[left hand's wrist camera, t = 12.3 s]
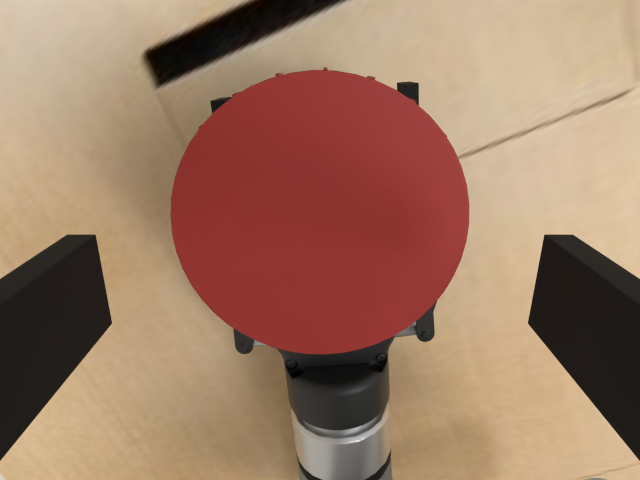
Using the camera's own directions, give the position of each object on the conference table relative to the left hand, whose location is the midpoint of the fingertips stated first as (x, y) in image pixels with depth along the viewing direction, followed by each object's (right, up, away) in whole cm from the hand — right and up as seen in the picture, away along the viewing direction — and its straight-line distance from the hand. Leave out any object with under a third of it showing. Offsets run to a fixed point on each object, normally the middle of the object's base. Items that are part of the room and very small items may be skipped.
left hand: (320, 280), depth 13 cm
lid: (0, +2, +4) cm, 5 cm away
